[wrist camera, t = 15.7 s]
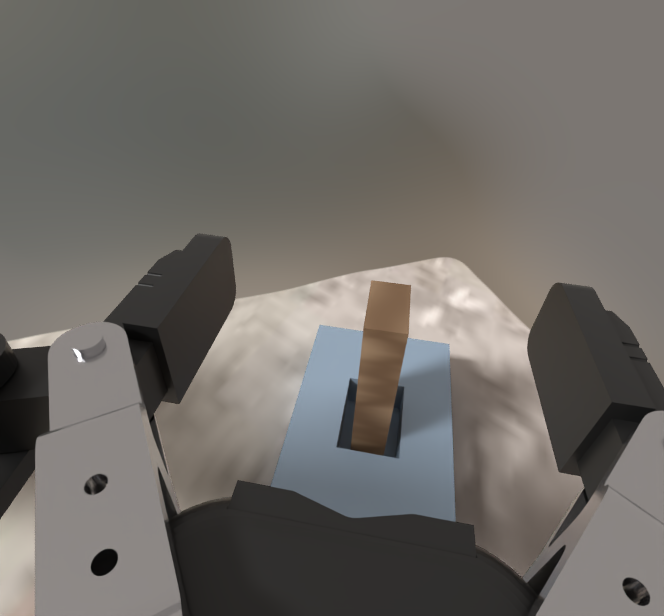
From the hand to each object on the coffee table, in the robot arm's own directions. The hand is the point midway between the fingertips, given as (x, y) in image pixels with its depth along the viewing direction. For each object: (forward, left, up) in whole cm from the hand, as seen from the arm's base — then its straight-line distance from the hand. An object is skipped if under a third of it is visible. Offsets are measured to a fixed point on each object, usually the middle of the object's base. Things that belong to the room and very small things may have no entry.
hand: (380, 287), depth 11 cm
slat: (-4, +10, -24) cm, 26 cm away
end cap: (-4, +10, -25) cm, 27 cm away
